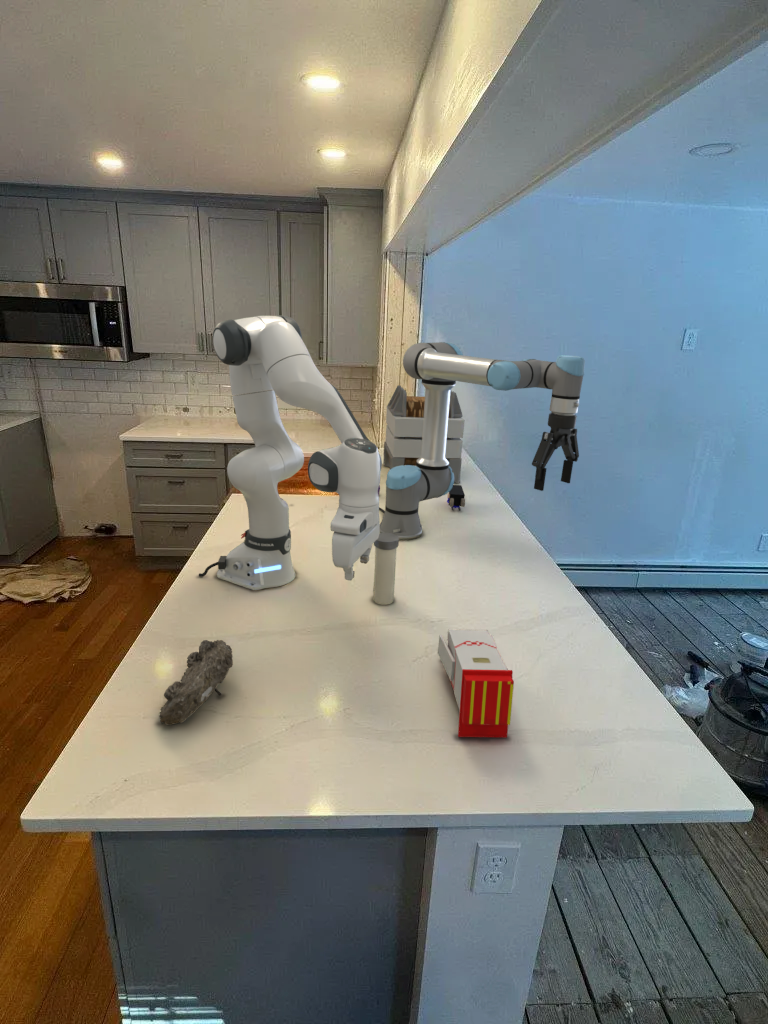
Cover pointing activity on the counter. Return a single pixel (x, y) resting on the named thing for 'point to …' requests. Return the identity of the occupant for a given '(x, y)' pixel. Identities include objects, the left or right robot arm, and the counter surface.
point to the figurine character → (456, 497)
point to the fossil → (197, 681)
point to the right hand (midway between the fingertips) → (552, 485)
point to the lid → (387, 541)
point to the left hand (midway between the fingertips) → (357, 570)
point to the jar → (384, 576)
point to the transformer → (419, 431)
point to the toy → (478, 682)
